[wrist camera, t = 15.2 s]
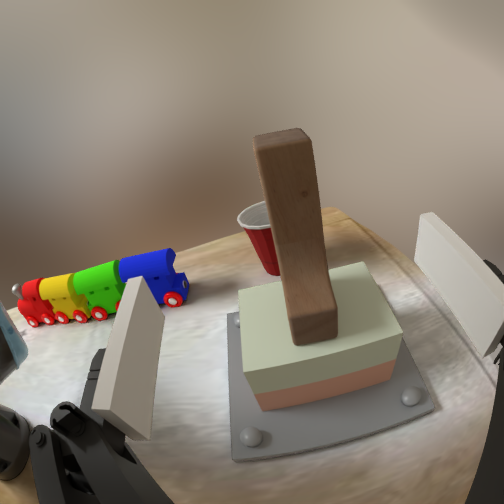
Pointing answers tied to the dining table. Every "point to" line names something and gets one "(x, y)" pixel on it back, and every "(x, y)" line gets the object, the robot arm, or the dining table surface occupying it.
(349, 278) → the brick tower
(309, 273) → the wooden block
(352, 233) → the dining table surface
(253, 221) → the plastic cup
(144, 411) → the robot arm
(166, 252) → the toy train
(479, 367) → the dining table surface
